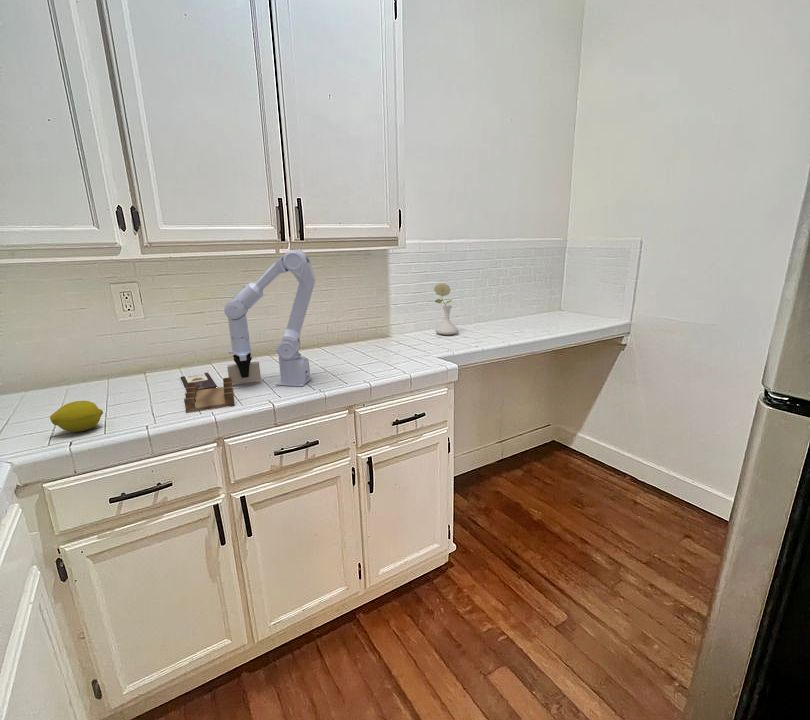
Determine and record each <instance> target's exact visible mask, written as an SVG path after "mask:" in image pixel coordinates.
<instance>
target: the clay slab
mask: <svg viewBox="0 0 810 720" xmlns="http://www.w3.org/2000/svg"><path fill="white" fill-rule="evenodd" d="M226 367H227V374H228V375H227V376H228V377H231V380H232V385H234V384H235V385H236V384H241V383H249V382H256V381H261V380H262V376H261V367H260V361H259V360H257V361H252V362H250V366H249V376H248V377H246V378H242V377H241V375H240V371H239V368H238V366H237V364H236V363H235V364H227V365H226Z"/></svg>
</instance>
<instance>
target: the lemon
mask: <svg viewBox="0 0 810 720" xmlns="http://www.w3.org/2000/svg"><path fill="white" fill-rule="evenodd" d="M103 413H104V411H103V410H102V409H101V408H99V407H98V406H97V404H96V403H94V402H92V401H89V400H76V401H71V402H68V403H65V404H64V405H63V406H60V408H58V409H57V410H56V411H54V412H53V413H52V414H50V417H49V419H50V423H51V424H53V425H54V426H56V427H57V426H58V427H59V428H60V429H62V430H63V431H66V432H71V433H72V432H73V433H75V432H84V431H87V430H90V429H92V428H94V427H95V426H97V424H99V422H100V420H101V418H102V415H103Z"/></svg>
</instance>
